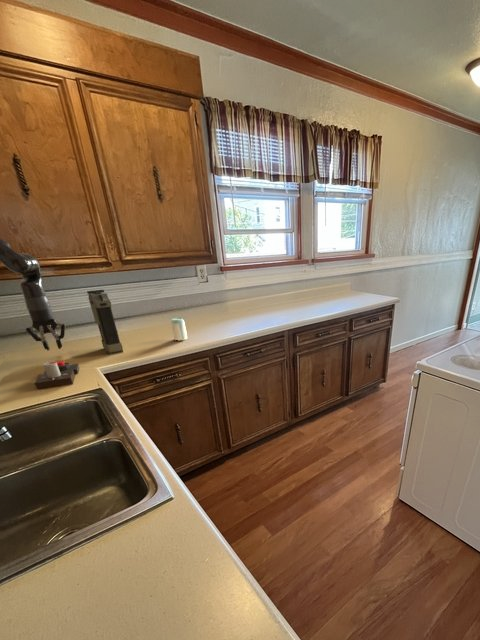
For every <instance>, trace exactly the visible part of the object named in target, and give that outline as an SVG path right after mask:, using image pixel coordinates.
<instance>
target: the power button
mask: <svg viewBox="0 0 480 640" xmlns="http://www.w3.org/2000/svg"><path fill="white" fill-rule="evenodd" d="M55 362H57V365H58V367H59V366H63V365H65V363H64V362H65V361H64V360H56V361H55Z"/></svg>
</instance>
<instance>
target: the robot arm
mask: <svg viewBox="0 0 480 640" xmlns="http://www.w3.org/2000/svg"><path fill="white" fill-rule="evenodd" d="M0 263H1V264H2V265H3V266H5V268H7V269H8V270H10V271H12V272H13V273H15V274H19V275H22V280H21V281H20V282H19V287H20V290H21V293H22V296H23V298H24V302H25V307H26V309H27V311H28V314H29V316H30V319H31V323H32V324H31V325H30V326H27V327H26V328H25V331H26V332H27V333H28V334H29V335H30V337H32V338H33V339H34V340H35V342H41V343H42V346H43V348H44V350H46V351H50V350H51V347H50V345H49V343H48V340H47V338H46V334H51V335H52V337H53V338H54V339H55V343H56V346H57V348H58V350H60V349H62V347H63V344H62V341H61V339H64V338H65V334H66V333H65V332H66V323H64V322H63V323H60V322H58V321H57V320H56V318H55V316H54V312H53V309H52V307H51V304H50V301H49V298H48V297H47V293H46V291H45V289H44V286H43V279H42V278H43V277H42V270H41V266H40V263H39V261H38V259H37V258H36V257H35V256H34V255H32V254H31V253H29V252H19V253H18V252H17V251H15V250H13V249H12V248H11V245H10V243H9V242H8V241H7V240H6V239H4V238H2V236H0ZM57 327H58V328H59V329H60V335H59V333H58V331H57V330H56V329H57ZM35 330H36V331H37V332H39V335H38V334H37V333H36V332H35ZM39 336H40V337H39Z"/></svg>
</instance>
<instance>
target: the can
mask: <svg viewBox="0 0 480 640" xmlns="http://www.w3.org/2000/svg"><path fill="white" fill-rule="evenodd" d="M171 329H172V334H173V339H174V340H175V341H176V340H178V341H177V342H181V341H180V340H184V341H186V340H188V334H187V329H186V323H185V320H184V319H183V318H182V317H174V318H172V319H171ZM185 339H186V340H185Z"/></svg>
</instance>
